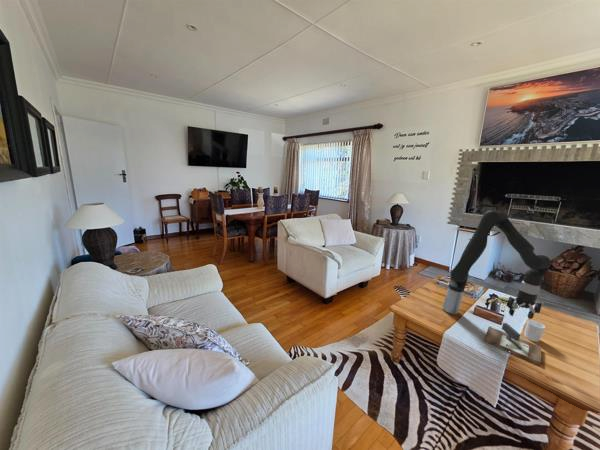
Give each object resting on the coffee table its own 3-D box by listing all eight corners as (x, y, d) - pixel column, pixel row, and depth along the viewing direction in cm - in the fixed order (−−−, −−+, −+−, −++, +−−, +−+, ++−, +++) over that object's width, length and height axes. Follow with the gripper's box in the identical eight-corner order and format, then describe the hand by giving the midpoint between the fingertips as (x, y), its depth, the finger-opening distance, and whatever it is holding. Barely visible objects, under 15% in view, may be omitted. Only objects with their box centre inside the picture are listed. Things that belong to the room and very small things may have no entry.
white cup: (534, 343, 143) (539, 329, 140) (519, 334, 150) (524, 320, 148) (543, 341, 145) (548, 327, 143) (528, 332, 152) (533, 318, 150)
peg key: (499, 332, 148) (502, 322, 146) (504, 333, 148) (507, 323, 146) (518, 349, 134) (521, 339, 133) (522, 350, 134) (526, 339, 133)
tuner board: (483, 341, 143) (484, 338, 143) (488, 328, 154) (489, 325, 154) (539, 365, 127) (540, 362, 126) (540, 350, 138) (541, 346, 138)
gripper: (539, 289, 132) (531, 315, 137) (509, 284, 136) (501, 310, 140) (549, 296, 125) (539, 323, 130) (517, 291, 129) (508, 318, 133)
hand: (520, 316), depth 135 cm, fingers open, 8 cm apart
